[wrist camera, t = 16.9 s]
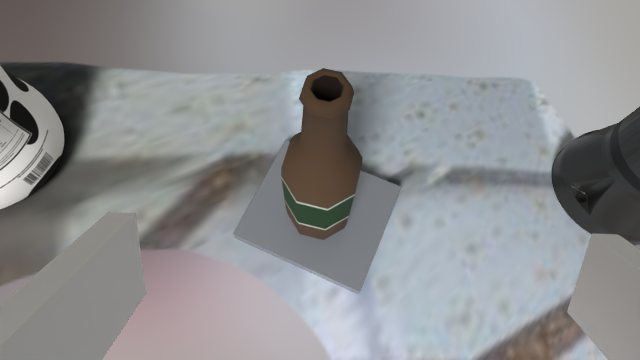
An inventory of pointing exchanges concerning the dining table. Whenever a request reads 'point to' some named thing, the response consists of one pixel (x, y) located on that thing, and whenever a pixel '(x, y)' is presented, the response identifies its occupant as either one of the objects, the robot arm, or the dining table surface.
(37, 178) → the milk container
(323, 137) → the beer bottle
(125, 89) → the dining table surface
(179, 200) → the dining table surface
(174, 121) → the dining table surface
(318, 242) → the slate board
